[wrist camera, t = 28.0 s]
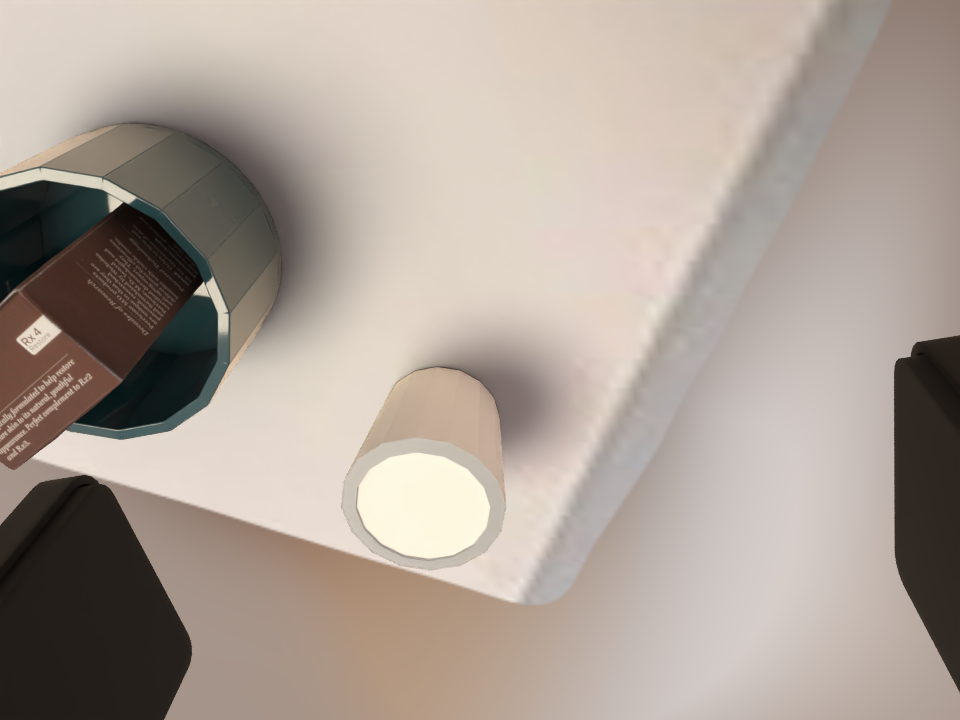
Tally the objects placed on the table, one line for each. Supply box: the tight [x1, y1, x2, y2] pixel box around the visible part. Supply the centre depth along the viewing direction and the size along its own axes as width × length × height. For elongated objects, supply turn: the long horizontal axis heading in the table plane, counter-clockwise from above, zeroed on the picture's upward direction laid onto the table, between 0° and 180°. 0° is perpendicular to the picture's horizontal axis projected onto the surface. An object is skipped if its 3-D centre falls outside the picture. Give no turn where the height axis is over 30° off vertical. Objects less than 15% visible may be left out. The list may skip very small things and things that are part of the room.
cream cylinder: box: [341, 367, 506, 570], centre depth 38 cm, size 7×7×7 cm
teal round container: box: [0, 123, 281, 440], centre depth 34 cm, size 11×11×7 cm
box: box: [0, 202, 204, 470], centre depth 31 cm, size 6×4×12 cm
